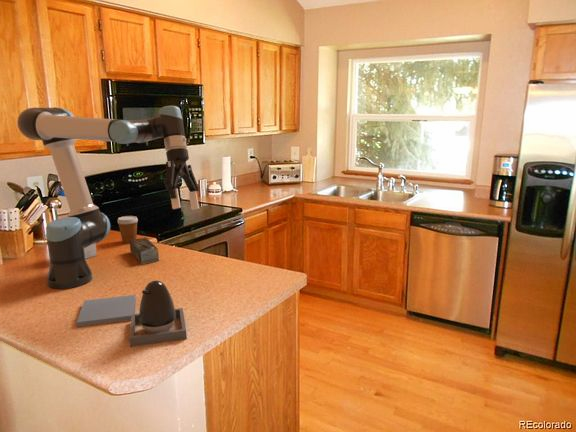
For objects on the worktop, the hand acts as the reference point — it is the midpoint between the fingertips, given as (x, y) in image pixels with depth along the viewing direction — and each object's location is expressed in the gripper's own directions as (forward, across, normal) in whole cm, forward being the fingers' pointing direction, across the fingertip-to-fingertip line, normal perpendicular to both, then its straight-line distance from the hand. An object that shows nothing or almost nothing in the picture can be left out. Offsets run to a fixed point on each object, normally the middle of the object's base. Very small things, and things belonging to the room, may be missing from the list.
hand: (186, 208), depth 153 cm
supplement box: (+9, +23, +66) cm, 70 cm away
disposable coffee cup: (+4, +48, +58) cm, 75 cm away
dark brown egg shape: (+36, -26, +2) cm, 45 cm away
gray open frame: (+36, -26, +2) cm, 44 cm away
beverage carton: (+14, +30, +40) cm, 52 cm away
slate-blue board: (+29, -20, +23) cm, 42 cm away
